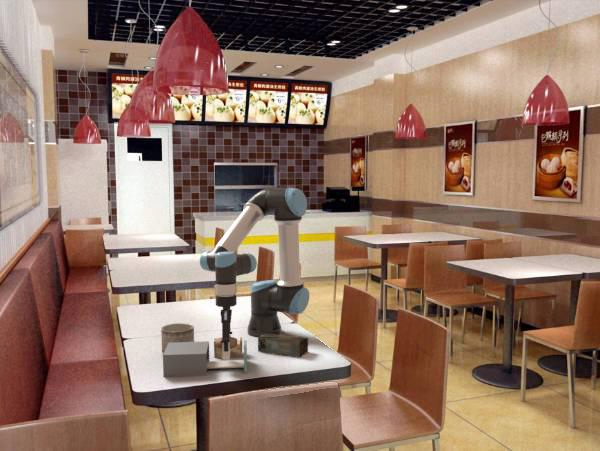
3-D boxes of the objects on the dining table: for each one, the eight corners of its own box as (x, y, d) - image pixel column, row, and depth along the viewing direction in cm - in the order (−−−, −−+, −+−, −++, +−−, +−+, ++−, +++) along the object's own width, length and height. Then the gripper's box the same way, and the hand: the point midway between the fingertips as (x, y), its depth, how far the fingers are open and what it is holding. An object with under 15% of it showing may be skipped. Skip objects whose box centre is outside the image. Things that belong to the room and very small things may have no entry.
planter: (159, 350, 229) (158, 325, 228) (190, 346, 234) (190, 321, 233) (165, 359, 217) (164, 333, 216) (197, 355, 222) (197, 329, 221)
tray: (246, 359, 216) (246, 340, 215) (246, 372, 202) (246, 352, 201) (207, 360, 215) (207, 341, 214) (204, 373, 201) (204, 353, 200)
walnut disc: (237, 342, 212) (237, 336, 212) (237, 348, 204) (237, 342, 204) (215, 343, 211) (215, 337, 211) (214, 349, 203) (214, 343, 203)
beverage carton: (266, 346, 234) (266, 330, 233) (309, 352, 226) (309, 336, 225) (257, 352, 227) (257, 336, 226) (301, 358, 219) (301, 341, 218)
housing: (209, 361, 215) (208, 341, 214) (206, 375, 200) (206, 353, 200) (169, 362, 214) (168, 342, 213) (163, 376, 199) (162, 355, 198)
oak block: (242, 352, 225) (242, 337, 224) (242, 356, 220) (242, 341, 220) (214, 353, 224) (214, 338, 223) (214, 357, 219) (213, 341, 219)
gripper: (217, 289, 216) (217, 347, 218) (213, 301, 195) (214, 365, 197) (236, 288, 216) (237, 347, 218) (235, 300, 196) (236, 364, 198)
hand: (226, 355), depth 208 cm, fingers closed on walnut disc, 8 cm apart
